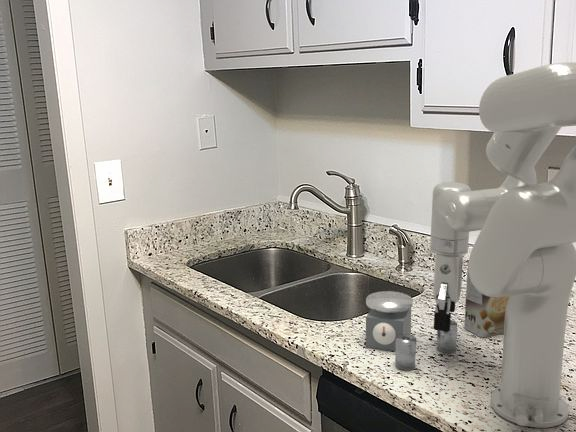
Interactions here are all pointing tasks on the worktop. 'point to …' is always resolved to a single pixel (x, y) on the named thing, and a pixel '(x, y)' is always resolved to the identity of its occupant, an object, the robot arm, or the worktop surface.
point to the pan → (389, 301)
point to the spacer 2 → (447, 339)
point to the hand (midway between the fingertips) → (444, 320)
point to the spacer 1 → (405, 352)
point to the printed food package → (484, 312)
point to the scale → (386, 328)
